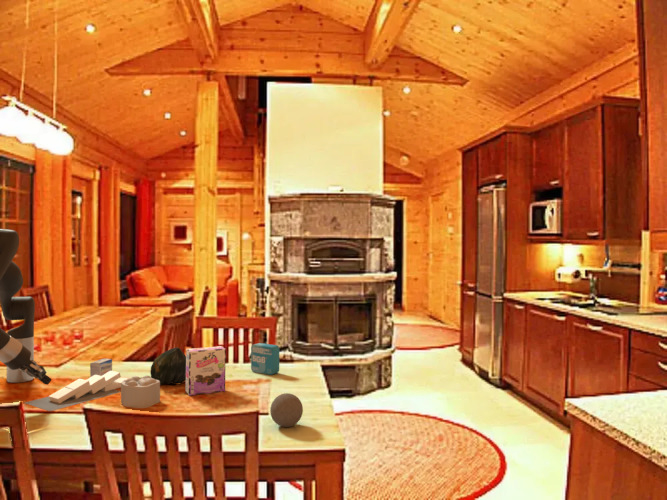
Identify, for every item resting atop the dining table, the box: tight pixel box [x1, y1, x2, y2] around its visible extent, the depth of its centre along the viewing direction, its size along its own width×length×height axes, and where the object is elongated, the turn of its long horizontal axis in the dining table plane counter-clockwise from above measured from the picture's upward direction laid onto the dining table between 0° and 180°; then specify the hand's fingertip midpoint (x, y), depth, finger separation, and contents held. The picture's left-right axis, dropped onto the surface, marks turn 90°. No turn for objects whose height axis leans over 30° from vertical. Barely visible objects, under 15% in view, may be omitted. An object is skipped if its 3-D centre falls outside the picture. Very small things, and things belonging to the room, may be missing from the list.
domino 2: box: [71, 375, 106, 399], centre depth 191 cm, size 2×6×12 cm
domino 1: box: [48, 378, 90, 403], centre depth 186 cm, size 2×6×12 cm
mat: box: [24, 389, 121, 412], centre depth 188 cm, size 16×27×1 cm, turn 148°
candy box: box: [184, 345, 227, 396], centre depth 198 cm, size 14×6×16 cm, turn 117°
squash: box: [149, 347, 186, 386], centre depth 209 cm, size 14×15×15 cm
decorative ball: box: [269, 392, 304, 428], centre depth 163 cm, size 10×10×10 cm
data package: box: [250, 342, 280, 376], centre depth 227 cm, size 12×4×12 cm, turn 60°
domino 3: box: [88, 370, 122, 394], centre depth 197 cm, size 2×6×12 cm
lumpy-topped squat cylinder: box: [120, 374, 161, 409], centre depth 184 cm, size 10×13×9 cm
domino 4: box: [101, 377, 128, 391], centre depth 201 cm, size 2×6×12 cm
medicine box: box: [89, 358, 113, 378], centre depth 209 cm, size 8×4×9 cm, turn 168°
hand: (48, 382), depth 179 cm, fingers closed
